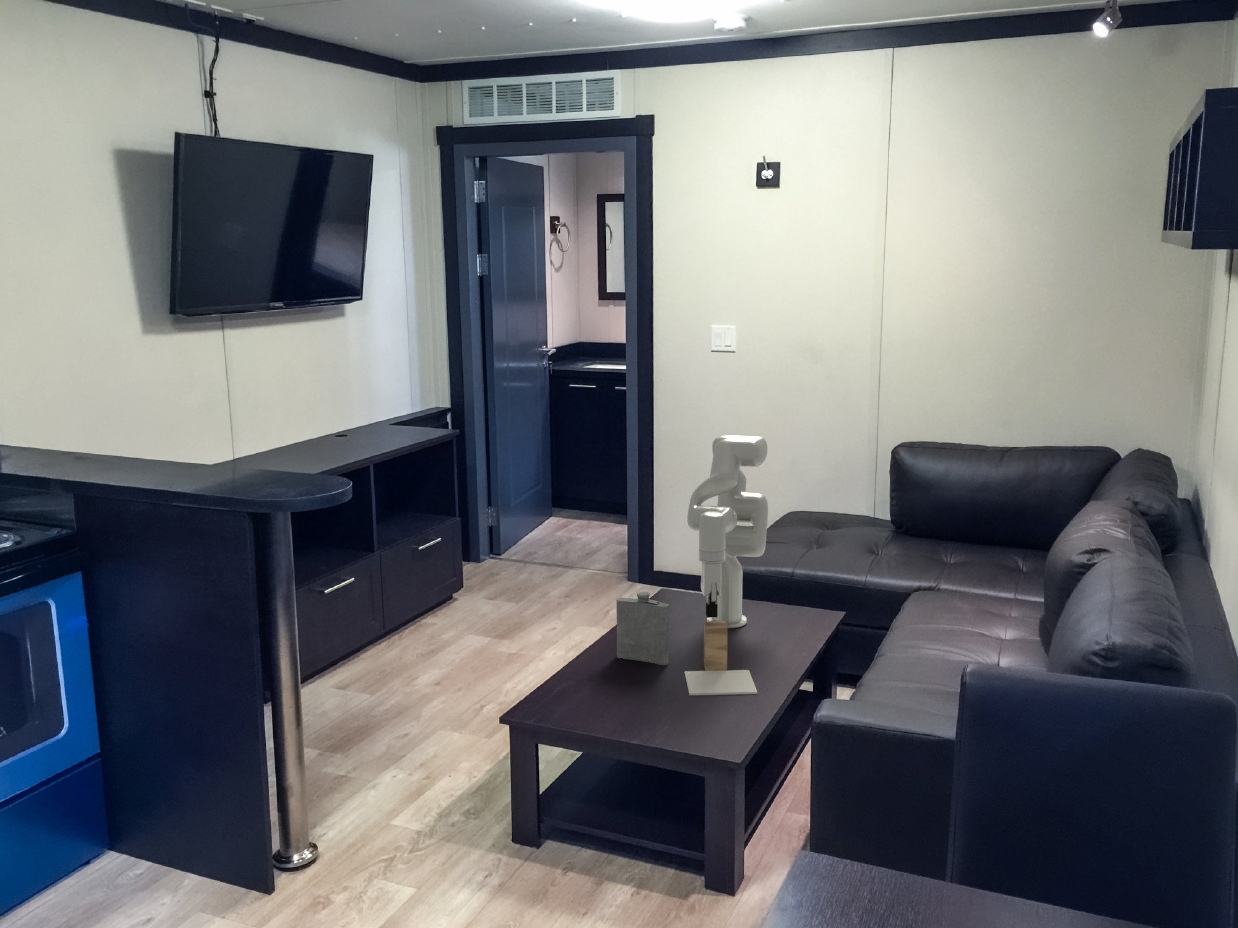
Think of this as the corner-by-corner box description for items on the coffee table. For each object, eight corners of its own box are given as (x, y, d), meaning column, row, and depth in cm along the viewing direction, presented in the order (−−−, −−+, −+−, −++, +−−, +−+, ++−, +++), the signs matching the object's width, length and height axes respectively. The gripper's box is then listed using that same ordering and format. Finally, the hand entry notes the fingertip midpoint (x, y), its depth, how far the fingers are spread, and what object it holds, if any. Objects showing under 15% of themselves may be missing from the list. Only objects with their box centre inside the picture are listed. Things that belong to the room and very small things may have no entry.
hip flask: (615, 657, 306) (614, 591, 302) (621, 652, 310) (620, 587, 306) (666, 665, 300) (666, 598, 296) (671, 660, 303) (671, 594, 300)
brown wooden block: (703, 664, 300) (704, 621, 298) (724, 664, 300) (725, 620, 298) (705, 671, 295) (705, 627, 293) (727, 671, 296) (727, 626, 293)
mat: (684, 673, 294) (684, 671, 294) (748, 671, 295) (748, 669, 295) (689, 695, 280) (689, 693, 279) (757, 693, 280) (757, 691, 280)
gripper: (696, 548, 309) (696, 608, 312) (701, 562, 294) (701, 625, 297) (722, 548, 309) (721, 608, 312) (728, 562, 294) (727, 624, 297)
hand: (711, 616), depth 305 cm, fingers closed
